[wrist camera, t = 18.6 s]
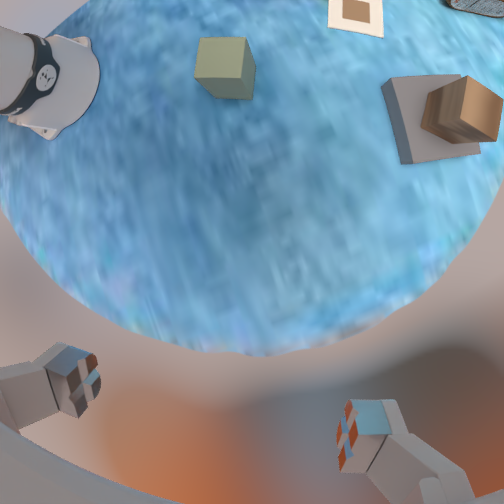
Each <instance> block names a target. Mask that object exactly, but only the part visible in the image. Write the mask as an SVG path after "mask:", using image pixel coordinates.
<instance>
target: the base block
mask: <svg viewBox="0 0 504 504" xmlns="http://www.w3.org/2000/svg"><path fill="white" fill-rule="evenodd" d="M460 78H461V75H460V74H455V75H423V76H407V77H395V78H390V79H389V80H388V81H387V82H386V83H385V84H384V85H383V86H381V89H382V92H383V96H384V99H385V102H386V106H387V109H388V113H389V117H390V120H391V124H392V128H393V132H394V136H395V140H396V144H397V148H398V153H399V157H400V162H401V164H415V163H421V162H427V161H433V160H440V159H446V158H453V157H460V156H467V155H475V154H481V151H480V146H479V142H476V143H460V144H451V143H449V142H448V141H446V140H444V139H442V138H440V137H438V136H436V135H434V134H432V133H430V132H428V131H426V130H424V129H422V128H420V127H421V123H422V119H423V115H424V111H425V107H426V102H427V98H428V93H429V92H432V91H434V90H436V89H438V88H440V87H442V86H445V85H447V84H449V83H451V82H454V81H456V80H458V79H460Z"/></svg>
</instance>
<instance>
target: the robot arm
mask: <svg viewBox="0 0 504 504" xmlns="http://www.w3.org/2000/svg"><path fill="white" fill-rule="evenodd" d="M99 74H100V71H99V64H98V61H97V59H96V57H95V55H94V54H93V52H92V50H91V41H90V38H88V37H86V36H82V37H77V38H72V39H68V38H66V37H63V36H61V35H57V34H55V35H53V36H49V37H47V38H44V39H43V38H41V37H39V36H37V35H34V34H29V33H24V34H21V33H18V32H15V31H12V30H9V29H7V28H4V27H1V26H0V114H1V115H9V117H8V121H9V122H11V123H15V124H17V125H19V126H25V127H29V128H30V129H32V130H33V131H35V132H36V133H38V134H39V135H41V136H42V137H44V138H45V139H47V140H53V139H55V138H56V136H57V135H58V134H59V133H60V132H61V130H62V129H64V128H65V127H67V126H69V125H71V124H72V123H74V122H75V121H76V120H78V119H79V118H80V117H81V116H82V115H83V113H84V112H85V111H86V110H87V108H88V107H89V105H90V104H91V102H92V100H93V98H94V96H95V93H96V90H97V87H98V83H99ZM46 131H47V132H46ZM97 365H98V362H97V358H96V356H95V355H94V354H92V353H89V352H87V351H84V350H81V349H78V348H75V347H73V346H69V345H67V344H64V343H62V342H58V343H56V344H55V345H53V346H52V347H51V348H50V349H48V350H47V351H46V352H44V353H43V354H42V355H41V356H40V357H38V358H37V359H36V360H34V361H33V362H29V361H28V362H24V363H19V364H15V365H10V366H6V367H1V368H0V504H183V503H178V502H175V501H171V500H167V499H164V498H161V497H157V496H154V495H151V494H148V493H144V492H141V491H138V490H135V489H132V488H130V487H127V486H124V485H122V484H119V483H116V482H114V481H111V480H109V479H106V478H104V477H101V476H99V475H96V474H94V473H92V472H90V471H87V470H85V469H83V468H81V467H79V466H77V465H74V464H73V463H70V462H68V461H66V460H64V459H62V458H61V457H58V456H57V455H55V454H53V453H51V452H49V451H47V450H46V449H44V448H42V447H40V446H38V445H37V444H35V443H33V442H32V441H30V440H28V439H27V438H25V437H23V436H22V435H21V434H20V432H19V429H21V428H23V427H26V426H28V425H30V424H33V423H35V422H37V421H40V420H42V419H44V418H46V417H48V416H51V415H53V414H55V413H57V412H59V411H61V412H63V413H66V414H68V415H71V416H73V417H76V418H79V417H80V416H81V415H82V414H83V412H84V411H85V410H86V409H87V408H88V405H87V404H88V403H87V402H89V401H92V400H94V399H95V398H96V397H97V395H98V393H99V391H100V388H101V378H100V374H99V373H98V372H97V370H96V369H95V368H96V367H97ZM344 411H345V416H344V417H343V418H341V419H340V422H339V425H338V429H337V434H336V442H337V447H338V448H339V449H340V450H341V451H340V454H339V456H338V461H339V470H340V473H366V475H367V476H368V477H369V478H370V480H371V481H372V482H373V483H374V484H375V485H376V486H377V488H378V489H379V490H380V491H381V492H382V493H383V495H384V496H385V497H386V498H387V499H388V500H389V501H390V503H391V504H504V489H502V490H499V491H496V492H493V493H491V494H488V495H485V496H482V497H478V498H475V496H474V493H473V491H472V488H471V486H470V483H469V481H468V479H467V476H466V474H465V472H464V470H463V469H461V468H460V467H459V466H457V465H456V464H454V463H453V462H451V461H450V460H449V459H447V458H446V457H444V456H443V455H442V454H440V453H439V452H437V451H436V450H435V449H433V448H432V447H430V446H429V445H428V444H426V443H425V442H424V441H422V440H421V439H419V438H418V437H417V436H415V435H414V434H409V433H408V431H407V428H406V425H405V422H404V420H403V417H402V415H401V412H400V410H399V407H398V405H397V402H396V401H395V400H350V399H349V400H348V401H347V403H346V406H345V408H344Z"/></svg>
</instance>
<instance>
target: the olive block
mask: <svg viewBox="0 0 504 504" xmlns="http://www.w3.org/2000/svg"><path fill="white" fill-rule="evenodd" d="M255 72H256V65H255V62H254V59H253V56H252V53H251V50H250V47H249V45H248V42H247V39H246V37H203V38H200V41H199V47H198V53H197V60H196V66H195V73H194V78H195V79H196V80H197V81H198V82H199V83H200V84H201V85H202V86H203V87H204V88H205V89H206V90H208V91H209V92H210V93H211V94H212V95H213V96H214V97H215V98H223V99H245V100H252V99H253V90H254V81H255Z"/></svg>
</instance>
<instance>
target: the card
mask: <svg viewBox="0 0 504 504" xmlns="http://www.w3.org/2000/svg"><path fill="white" fill-rule="evenodd" d="M328 28H332V29H338V30H344V31H350V32H355V33H360V34H365V35H370V36H375V37H379V38H384V37H383V9H382V0H329V3H328Z"/></svg>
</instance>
